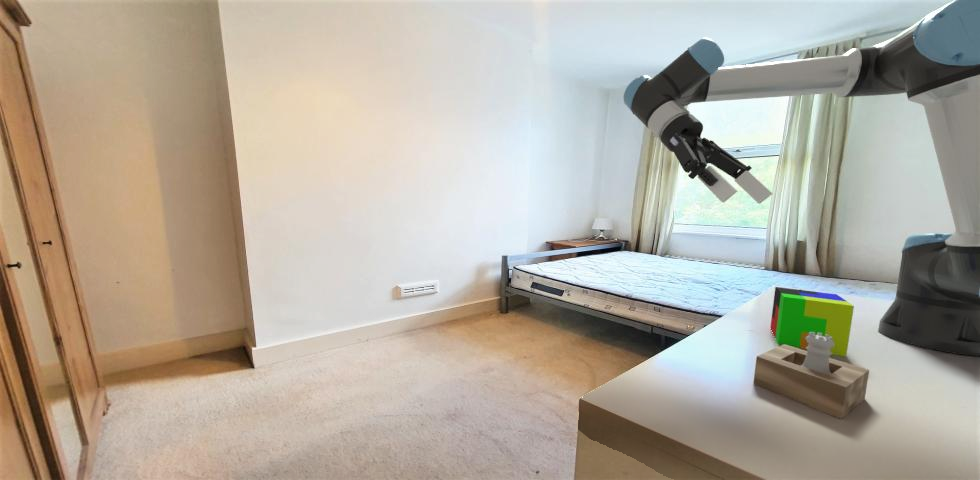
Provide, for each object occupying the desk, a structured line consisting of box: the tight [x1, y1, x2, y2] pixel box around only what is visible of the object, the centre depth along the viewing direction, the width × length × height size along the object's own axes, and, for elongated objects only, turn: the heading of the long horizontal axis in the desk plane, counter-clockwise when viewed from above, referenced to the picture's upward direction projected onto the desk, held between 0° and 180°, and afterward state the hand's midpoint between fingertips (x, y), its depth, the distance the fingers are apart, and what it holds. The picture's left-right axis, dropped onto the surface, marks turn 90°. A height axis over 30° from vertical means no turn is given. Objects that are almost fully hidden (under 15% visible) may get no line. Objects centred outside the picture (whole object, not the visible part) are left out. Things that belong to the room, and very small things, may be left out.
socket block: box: [753, 344, 870, 420], centre depth 51 cm, size 10×10×4 cm
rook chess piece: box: [801, 332, 835, 375], centre depth 51 cm, size 4×4×8 cm
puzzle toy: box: [769, 286, 855, 357], centre depth 71 cm, size 10×10×10 cm
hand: (748, 197), depth 62 cm, fingers open, 13 cm apart
